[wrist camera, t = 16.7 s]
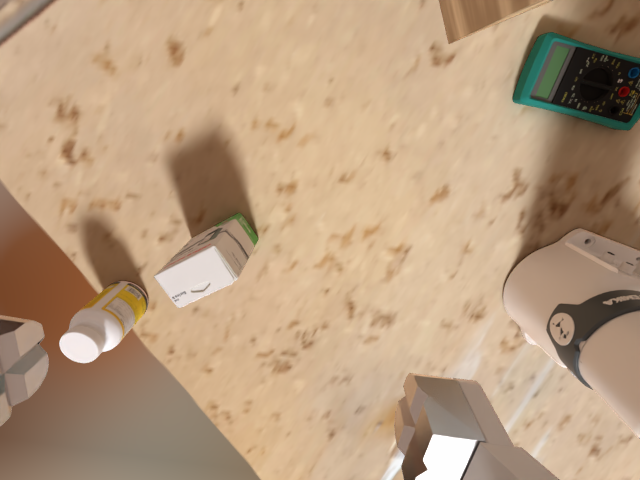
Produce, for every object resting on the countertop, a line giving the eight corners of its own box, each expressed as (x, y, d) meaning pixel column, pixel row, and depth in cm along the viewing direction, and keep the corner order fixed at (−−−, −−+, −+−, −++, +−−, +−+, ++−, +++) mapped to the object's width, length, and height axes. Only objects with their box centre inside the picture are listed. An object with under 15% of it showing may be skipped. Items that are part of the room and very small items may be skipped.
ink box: (241, 210, 47) (215, 243, 36) (260, 240, 49) (240, 280, 38) (189, 238, 49) (150, 277, 38) (210, 266, 51) (177, 311, 40)
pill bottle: (102, 304, 53) (45, 355, 43) (114, 271, 51) (57, 317, 40) (142, 322, 54) (96, 376, 44) (156, 291, 52) (112, 340, 41)
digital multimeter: (619, 131, 43) (639, 133, 40) (507, 101, 42) (520, 101, 39) (653, 67, 40) (677, 64, 38) (534, 34, 39) (550, 29, 37)
